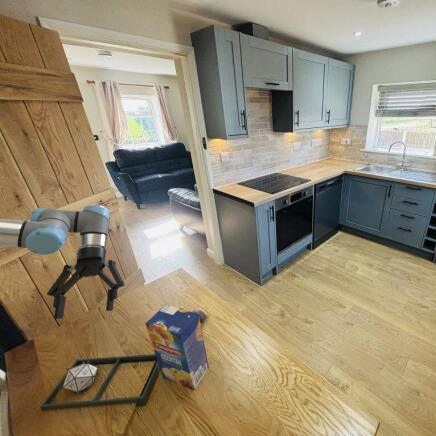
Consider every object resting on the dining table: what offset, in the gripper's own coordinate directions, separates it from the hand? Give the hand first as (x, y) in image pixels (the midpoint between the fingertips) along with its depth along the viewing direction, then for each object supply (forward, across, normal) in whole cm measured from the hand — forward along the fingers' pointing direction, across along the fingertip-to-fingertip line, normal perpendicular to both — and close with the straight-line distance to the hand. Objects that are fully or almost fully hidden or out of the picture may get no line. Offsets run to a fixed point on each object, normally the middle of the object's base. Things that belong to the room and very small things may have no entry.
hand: (84, 314), depth 74 cm
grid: (+22, -7, -5) cm, 23 cm away
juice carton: (+23, -29, -4) cm, 37 cm away
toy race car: (+8, -25, -18) cm, 32 cm away
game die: (+20, 0, -5) cm, 21 cm away
